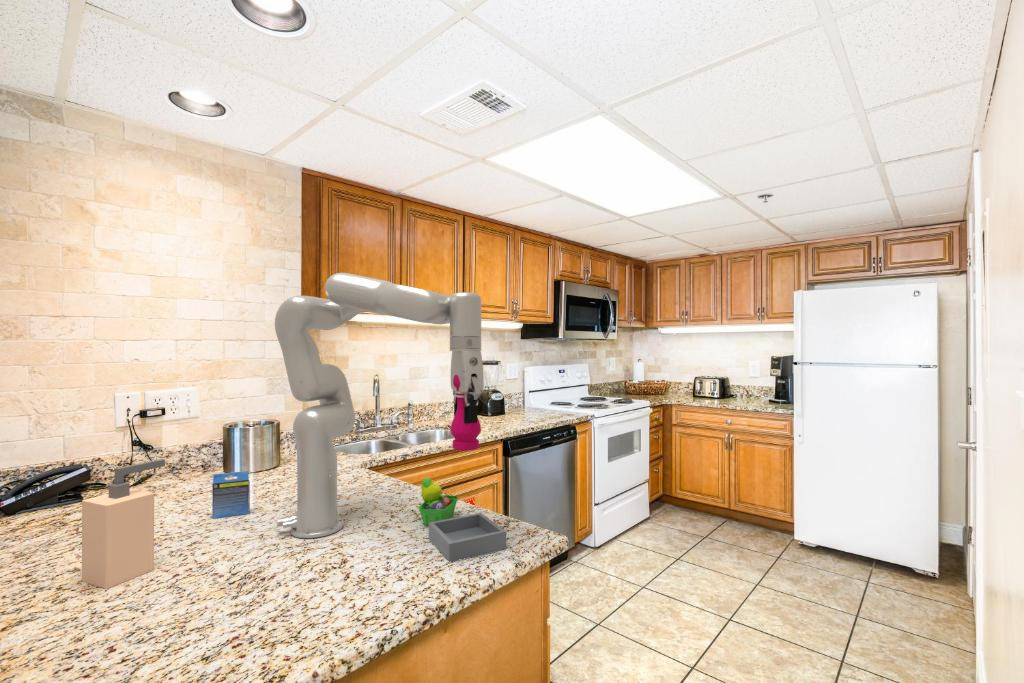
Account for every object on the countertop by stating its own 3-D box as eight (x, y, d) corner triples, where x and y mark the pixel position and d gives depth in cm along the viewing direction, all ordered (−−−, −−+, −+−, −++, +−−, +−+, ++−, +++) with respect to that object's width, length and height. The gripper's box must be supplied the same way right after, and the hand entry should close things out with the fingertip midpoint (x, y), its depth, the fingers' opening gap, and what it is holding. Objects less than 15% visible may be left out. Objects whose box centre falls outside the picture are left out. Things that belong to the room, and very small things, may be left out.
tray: (449, 562, 101) (449, 543, 101) (428, 539, 113) (428, 522, 113) (506, 548, 108) (506, 531, 108) (481, 528, 120) (480, 512, 120)
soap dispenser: (106, 589, 90) (106, 475, 91) (81, 581, 94) (81, 471, 94) (175, 561, 102) (175, 460, 102) (150, 554, 105) (151, 457, 106)
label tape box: (250, 510, 134) (250, 467, 134) (249, 514, 131) (249, 470, 131) (214, 515, 130) (214, 471, 131) (211, 519, 127) (212, 474, 127)
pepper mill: (451, 444, 114) (451, 363, 114) (480, 444, 114) (480, 362, 115) (449, 451, 107) (449, 364, 107) (481, 450, 107) (481, 364, 108)
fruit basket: (445, 529, 119) (445, 485, 119) (413, 527, 121) (412, 483, 121) (459, 514, 130) (459, 473, 131) (429, 512, 132) (429, 472, 132)
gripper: (495, 344, 105) (495, 425, 105) (466, 345, 120) (466, 415, 120) (464, 344, 102) (464, 427, 101) (438, 344, 117) (438, 417, 117)
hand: (465, 420), depth 111 cm, fingers closed on pepper mill, 5 cm apart
